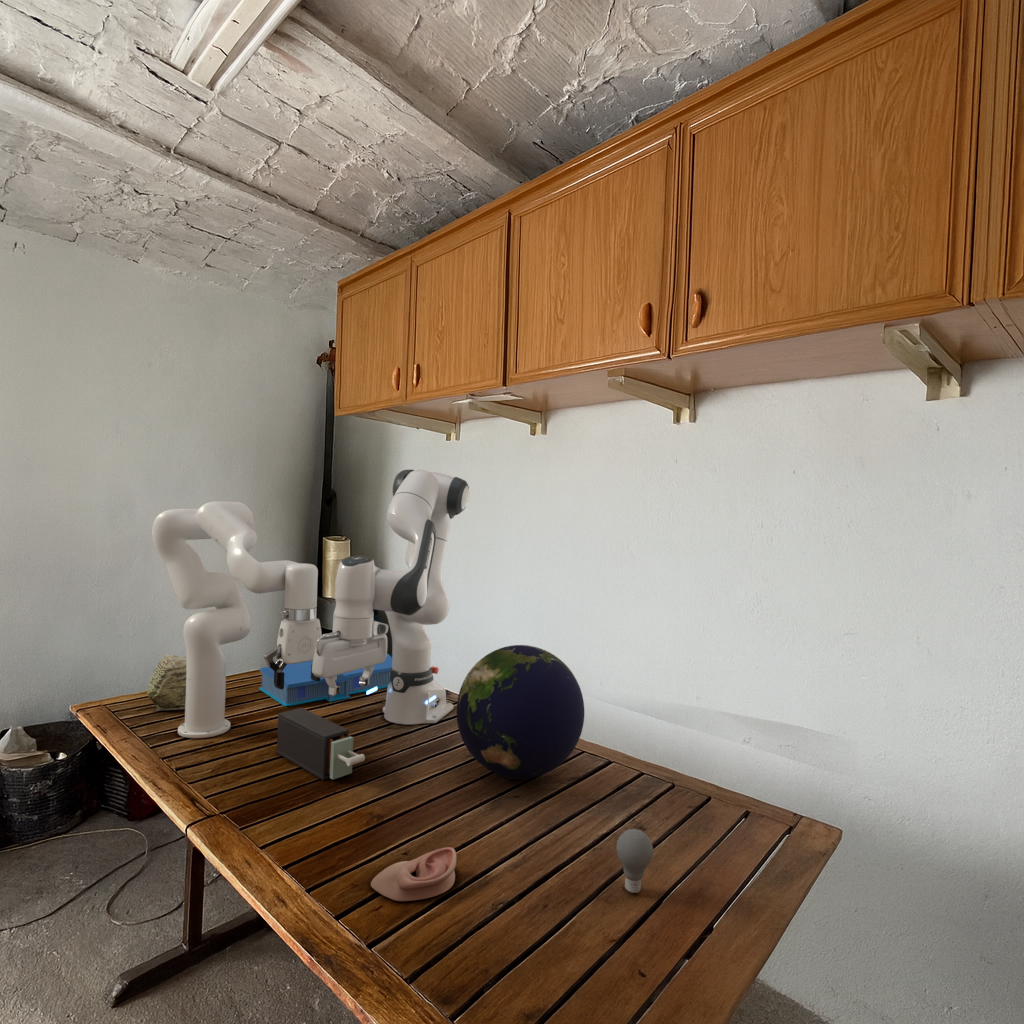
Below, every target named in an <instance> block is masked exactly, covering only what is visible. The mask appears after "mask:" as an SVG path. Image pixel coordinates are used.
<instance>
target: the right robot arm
mask: <svg viewBox="0 0 1024 1024" xmlns="http://www.w3.org/2000/svg"><path fill="white" fill-rule="evenodd" d="M469 500H470V486H469V484H468V482H467V481H466V480H465V479H463V478H460V477H457V476H451V475H447V474H444V473H441V472H436V471H435V472H431V471H428V470H424V469H415V470H414V469H403V470H401V471H400V472H398V473H396V475H395V477H394V480H393V484H392V499H391V501H390V503H389V505H388V508H387V512H386V520H387V522H388V525H389V526H390V528H391V529H392V531H393V532H394V533H395V534H396V535H398V536H399V537H400V538H402V539H404V540H406V541H408V542H407V546H406V551H405V555H404V561H405V564H406V566H407V567H408V568H407V569H403V570H392V569H384V568H380V567H378V566H376V565H375V561H374V559H373V557H372V556H367V555H351V556H347V557H345V558H342V559H341V560H340V562H339V564H338V567H337V572H336V577H335V584H334V585H335V587H334V599H335V607H334V608H335V609H334V611H333V617H332V632H329V633H326V632H325V633H323V634H322V637H320V638H319V640H318V641H317V644H316V649H315V653H314V658H313V664H312V673H313V674H314V676H316V677H319V678H325V680H326V682H327V684H328V686H329V694H330V695H333V696H334V695H337V694H339V690H340V686H337V685H336V682H335V680H337V675H340V674H343V673H347V672H351V671H355V670H358V669H362V668H363V669H364V672H363V675H362V677H360V678H359V681H360V682H359V685H360V686H367V685H369V678H370V676H371V674H372V672H373V670H374V665H377V664H381V663H383V662H384V661H385V659H386V656H387V653H388V636H387V633H388V632H389V630H390V635H391V645H392V650H391V651H392V652H391V657H392V667H391V669H390V681H391V683H390V684H389V685H388V687H387V690H386V697H385V705H384V706H383V707H382V713H383V714H384V715H383V718H384V719H385V720H386V721H388V722H390V723H393V724H398V725H421V724H436V723H438V722H439V721H440V720H442V719H443V718H444V717H445V716H446V715H448V714H449V713H450V712H451V711H453V710H454V709H455V706H454V704H453V703H451V702H449V701H447V694H448V693H449V689H445V688H444V687H443V686H442V685H441V684H439V682H438V681H436V680H435V679H434V674H435V675H437V674H438V673H439V670H440V669H439V666H434V665H433V666H431V655H432V641H431V639H430V637H429V636H428V634H427V633H426V630H425V627H424V626H428V625H429V626H430V625H438V624H440V623H442V622H443V621H444V620H445V619H446V618H447V616H448V615H449V612H450V607H451V606H450V600H449V597H448V596H447V594H446V591H445V589H444V585H443V583H444V582H443V563H444V559H445V553H446V549H447V545H448V539H449V533H450V527H451V526H450V525H451V519H454V518H455V516H458V515H461V513H463V512H464V511H465V509H466V507H467V505H468V503H469ZM374 610H377V611H383V612H384V613H385V615H386V618H387V622H388V624H387V623H384V622H381V621H376V620H374V616H375V613H374ZM377 691H378V689H377V687H375V688H372V689H370V690H368V691H366V695H370V694H372V693H374V692H377Z"/></svg>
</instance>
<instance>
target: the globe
mask: <svg viewBox="0 0 1024 1024" xmlns="http://www.w3.org/2000/svg"><path fill="white" fill-rule="evenodd" d="M456 721H457V722H456V723H457V727H458V731H459V734H460V737H461V740H462V742H463V744H464V747H465V748H466V749H467V751H468V752H469V754H470V755H471V756H472V757H473V759H474V760H475V761H476V762H477V763H478V764H479V765H481V766H482V767H483V768H485V769H486V770H488V771H489V772H491V773H493V774H495V775H497V776H500V777H502V778H507V779H511V780H527V779H528V780H529V779H535V778H538V777H542V776H544V775H546V774H549V773H551V772H552V771H554V770H556V769H557V768H558V767H559V766H561V765H562V764H563V763H564V762H565V761H566V760H567V759H568V758H569V757H570V756H571V754H572V753H573V752H574V750H575V748H576V747H577V745H578V742H579V740H580V739H581V736H582V733H583V728H584V723H585V702H584V696H583V692H582V689H581V687H580V684H579V681H578V680H577V678H576V676H575V675H574V673H573V672H572V670H571V669H570V668H569V667H568V665H567V664H566V663H565V662H564V661H562V659H560V658H559V657H558V656H556V655H555V654H553V653H552V652H550V651H547V650H546V649H543V648H540V647H537V646H532V645H529V644H514V645H513V644H512V645H507V646H503V647H500V648H497V649H495V650H493V651H491V652H489V653H488V654H486V655H484V656H483V657H481V658H480V660H478V661H477V662H476V663H475V664H474V665H473V666H472V668H471V669H470V670H469V671H468V672H467V674H466V676H465V677H464V679H463V682H462V684H461V686H460V689H459V692H458V696H457V703H456Z"/></svg>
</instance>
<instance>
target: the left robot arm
mask: <svg viewBox="0 0 1024 1024" xmlns="http://www.w3.org/2000/svg"><path fill="white" fill-rule="evenodd" d="M253 522H254V515H253V512H252V510H251V509H250V508H249V506H248V505H246V504H245V503H244V502H240V501H209V502H206V503H203V505H201V506H200V507H199V508H171V509H168V510H164V511H162V512H161V513H159V514H158V515H157V516H156V517H155V519H154V520H153V523H152V527H151V539H152V542H153V545H154V548H155V550H156V552H157V554H158V555H159V557H160V558H161V560H162V562H163V564H164V566H165V568H166V570H167V574H168V577H169V580H170V583H171V585H172V588H173V590H174V593H175V596H176V598H177V600H178V603H179V605H180V606H181V607H182V608H183V609H185V610H188V611H189V610H190V611H192V610H201V609H208V608H213V607H214V608H215V609H209V610H204V611H199V612H196V613H194V614H192V615H191V616H189V617H188V618H187V619H186V620H185V622H184V624H183V629H182V631H183V632H182V634H183V640H184V646H185V657H187V666H186V701H185V709H184V722H182V724H180V725H179V726H178V727H177V734H178V735H179V736H180V737H182V738H188V739H207V738H212V737H216V736H220V735H222V734H224V733H227V732H228V731H230V729H231V727H232V725H231V723H232V722H231V721H230V720H228V719H226V718H225V715H226V692H227V691H226V689H227V659H226V657H225V654H224V653H223V651H222V649H221V646H222V645H226V644H230V643H235V642H237V641H241V640H243V639H245V638H246V637H247V636H248V635H249V634H250V632H251V628H252V621H251V616H250V612H249V610H248V607H247V605H246V603H245V600H244V599H245V598H244V597H243V594H242V592H241V589H240V587H239V584H240V585H241V586H243V587H244V589H246V590H247V591H249V592H250V593H253V594H268V593H273V592H283V591H284V600H283V602H284V603H283V611H280V612H279V613H278V614H279V615H278V616H279V618H282V619H283V620H281V621H280V626H279V629H278V635H277V642H276V647H274V648H272V649H271V650H270V651H268V652H267V653H265V654H264V655H263V658H264V661H265V662H266V665H267V667H268V666H269V667H270V668H271V669H272V670H273V671H274V685H275V687H276V688H278V689H283V688H284V672H282V671H283V669H284V668H285V667H286V665H287V664H297V663H302V662H308V661H313V658H314V653H315V649H316V644H317V641H318V640H319V638H320V637H322V635H323V634H322V627H321V622H320V621H321V620H320V619H319V618H317V607H318V604H317V603H318V582H319V581H318V577H319V569H318V567H317V566H316V565H315V564H312V563H305V562H304V563H302V562H301V563H300V562H296V561H293V560H290V559H289V560H288V559H282V560H270V561H268V560H267V561H258V560H257V559H256V558H255V557H253V556H252V555H251V554H250V553H249V552H251V550H252V549H253V548H254V547H255V545H256V543H257V541H258V535H257V532H256V530H254V528H252V525H253ZM211 539H212V540H213V541H214V542H215V543H216V544H217V545H218V546H220V548H221V549H222V550H223V551H225V552H226V563H227V567H228V570H229V573H228V572H226V571H209V572H208V570H206V569H205V566H204V565H203V562H202V559H201V557H200V555H199V553H198V552H197V551H196V550H195V549H194V548H193V547H192V546H191V545H189V544H188V543H187V542H186V541H194V540H211ZM238 583H239V584H238ZM274 657H276V662H275V661H274ZM312 664H313V663H312ZM311 679H312V680H314V681H317V682H319V681H320V678H319V677H316V676H314V674H313V673H312V665H311Z"/></svg>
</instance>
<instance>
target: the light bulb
mask: <svg viewBox="0 0 1024 1024" xmlns="http://www.w3.org/2000/svg"><path fill="white" fill-rule="evenodd" d="M615 849H616V854H617V857H618V859H619V861H620V863H621V865H622V867H623V873H624V874H623V875H624V876H625V878H624V888H625V890H627V891H628V892H630V893H634V894H635V893H639V892H640V891H641V889H642V887H641V886H642V879H643V877H644V875H645V871H646V868H647V867H648V866H649V864H650V863H651V861H652V859H653V855H654V847H653V843H652V841H651V838H649V836H648V835H647V834H646V833H645V832H643V831H642V830H641V829H636V828H629V829H627V830H625V831H623V832H622V833H621V834H620V835H619V837H618V839H617V841H616V847H615Z"/></svg>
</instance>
